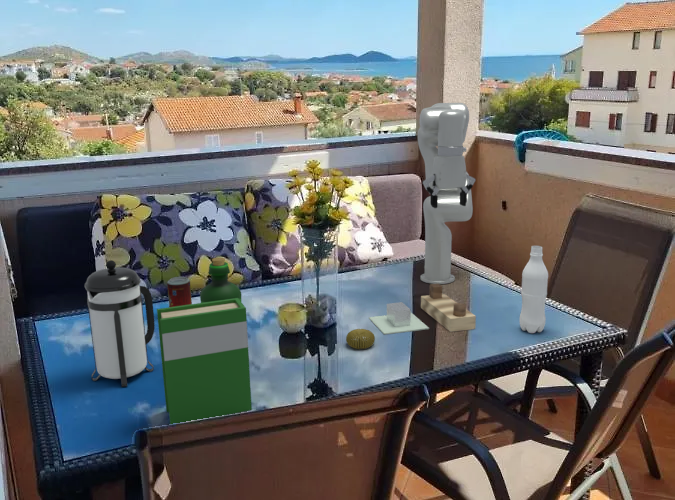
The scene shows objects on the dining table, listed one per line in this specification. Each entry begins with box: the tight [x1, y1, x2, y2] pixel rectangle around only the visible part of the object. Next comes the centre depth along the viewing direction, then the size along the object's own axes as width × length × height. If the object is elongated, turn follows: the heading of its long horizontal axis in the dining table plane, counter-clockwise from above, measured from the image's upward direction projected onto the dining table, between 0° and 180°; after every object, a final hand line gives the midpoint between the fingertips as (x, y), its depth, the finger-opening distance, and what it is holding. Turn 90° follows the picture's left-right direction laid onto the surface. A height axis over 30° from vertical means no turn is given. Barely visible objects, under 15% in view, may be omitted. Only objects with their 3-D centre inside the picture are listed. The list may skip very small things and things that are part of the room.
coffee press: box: [84, 260, 156, 388], centre depth 155 cm, size 17×16×30 cm
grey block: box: [386, 301, 412, 327], centre depth 188 cm, size 7×5×5 cm
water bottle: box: [519, 245, 549, 334], centre depth 178 cm, size 7×7×25 cm
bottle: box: [199, 257, 242, 303], centre depth 160 cm, size 11×11×28 cm
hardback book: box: [156, 298, 253, 424], centre depth 136 cm, size 18×7×24 cm, turn 112°
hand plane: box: [420, 283, 477, 333], centre depth 192 cm, size 22×8×8 cm, turn 15°
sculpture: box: [345, 328, 376, 350], centre depth 173 cm, size 8×4×8 cm
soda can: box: [166, 276, 193, 307], centre depth 197 cm, size 7×7×12 cm
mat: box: [368, 312, 430, 335], centre depth 189 cm, size 14×14×1 cm
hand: (448, 206), depth 197 cm, fingers open, 9 cm apart
